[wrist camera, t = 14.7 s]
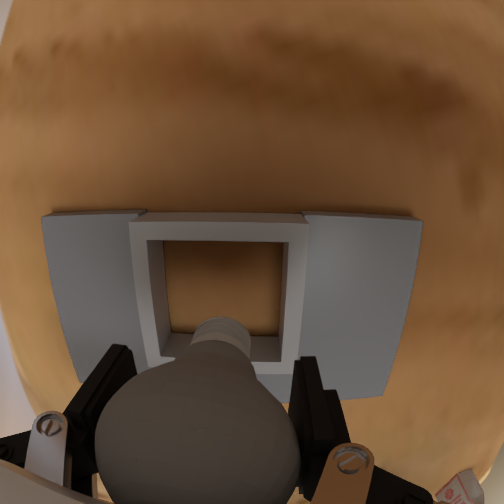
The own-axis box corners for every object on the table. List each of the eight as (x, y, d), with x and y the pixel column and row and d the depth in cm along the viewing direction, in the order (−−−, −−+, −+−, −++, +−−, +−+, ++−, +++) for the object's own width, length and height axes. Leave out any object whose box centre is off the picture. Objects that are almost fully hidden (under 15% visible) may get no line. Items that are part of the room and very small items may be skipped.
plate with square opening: (412, 216, 18) (549, 285, 7) (377, 384, 22) (427, 501, 11) (52, 212, 19) (-80, 267, 7) (86, 372, 23) (22, 472, 11)
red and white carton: (471, 468, 29) (492, 509, 20) (449, 490, 31) (466, 529, 22) (457, 473, 29) (477, 516, 20) (435, 494, 31) (451, 535, 22)
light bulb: (244, 252, 13) (201, 470, 3) (308, 354, 14) (342, 550, 5) (138, 311, 14) (24, 477, 4) (207, 396, 15) (171, 564, 6)
